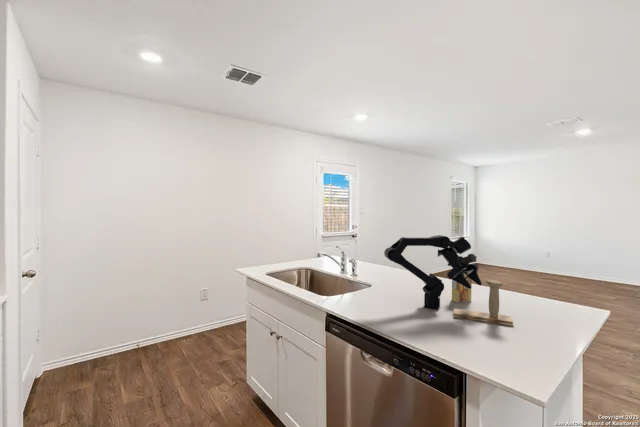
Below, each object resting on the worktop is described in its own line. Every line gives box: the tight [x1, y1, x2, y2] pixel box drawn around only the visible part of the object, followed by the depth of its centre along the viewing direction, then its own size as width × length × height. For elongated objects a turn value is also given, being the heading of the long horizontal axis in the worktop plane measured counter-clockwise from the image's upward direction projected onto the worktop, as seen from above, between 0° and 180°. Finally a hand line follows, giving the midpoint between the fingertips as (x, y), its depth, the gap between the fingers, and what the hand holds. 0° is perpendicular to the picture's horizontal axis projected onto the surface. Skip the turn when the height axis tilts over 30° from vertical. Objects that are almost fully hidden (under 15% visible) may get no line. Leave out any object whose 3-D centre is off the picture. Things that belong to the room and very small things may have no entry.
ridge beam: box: [452, 308, 514, 328], centre depth 128 cm, size 22×10×2 cm, turn 64°
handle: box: [486, 279, 504, 317], centre depth 125 cm, size 5×6×15 cm
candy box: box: [451, 273, 473, 303], centre depth 152 cm, size 9×4×15 cm, turn 103°
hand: (476, 286), depth 132 cm, fingers open, 9 cm apart
